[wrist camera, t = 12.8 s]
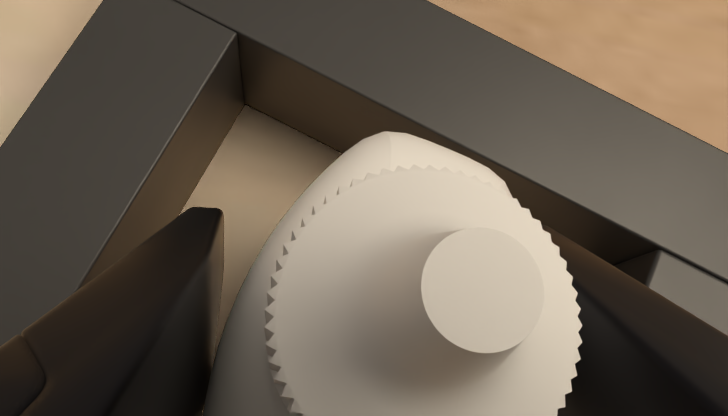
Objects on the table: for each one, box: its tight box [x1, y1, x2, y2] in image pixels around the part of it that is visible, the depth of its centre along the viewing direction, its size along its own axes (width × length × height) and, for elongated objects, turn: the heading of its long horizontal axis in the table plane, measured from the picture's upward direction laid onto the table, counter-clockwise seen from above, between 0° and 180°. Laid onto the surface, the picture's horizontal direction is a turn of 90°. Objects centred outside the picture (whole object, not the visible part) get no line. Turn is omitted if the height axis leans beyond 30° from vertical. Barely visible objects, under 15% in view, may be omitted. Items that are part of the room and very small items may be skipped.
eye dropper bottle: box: [203, 131, 582, 416], centre depth 10 cm, size 4×6×12 cm
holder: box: [0, 0, 728, 346], centre depth 14 cm, size 14×14×4 cm
